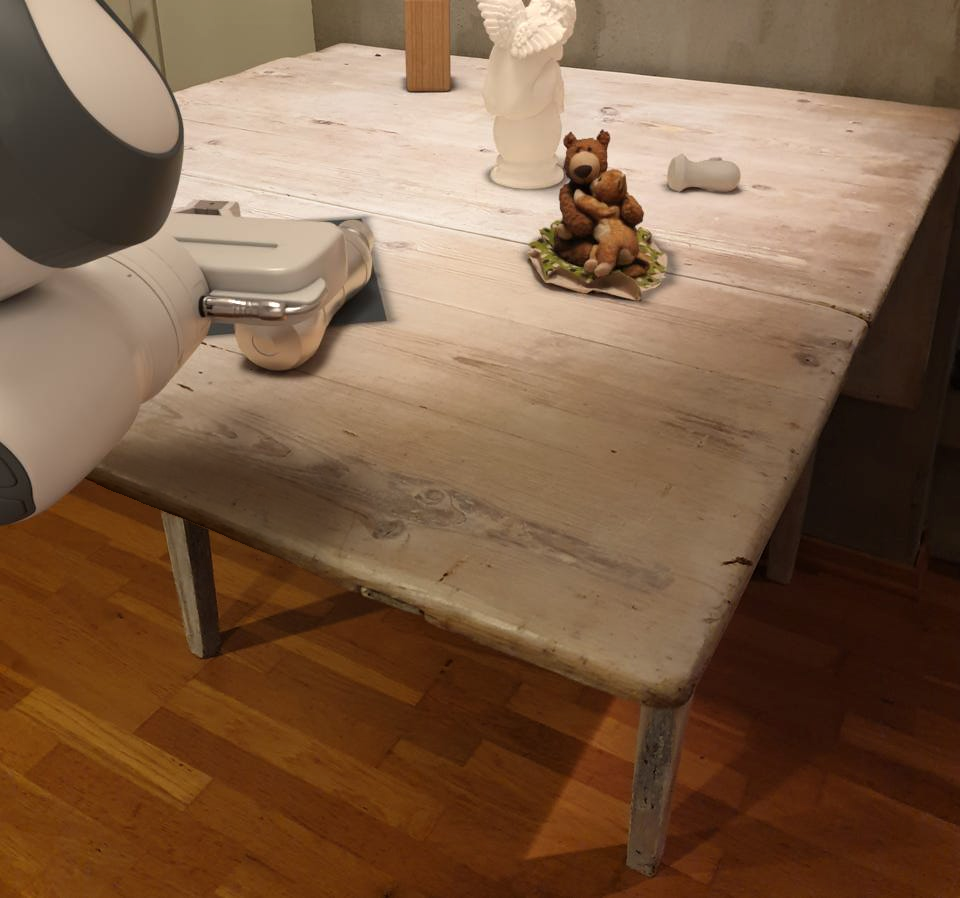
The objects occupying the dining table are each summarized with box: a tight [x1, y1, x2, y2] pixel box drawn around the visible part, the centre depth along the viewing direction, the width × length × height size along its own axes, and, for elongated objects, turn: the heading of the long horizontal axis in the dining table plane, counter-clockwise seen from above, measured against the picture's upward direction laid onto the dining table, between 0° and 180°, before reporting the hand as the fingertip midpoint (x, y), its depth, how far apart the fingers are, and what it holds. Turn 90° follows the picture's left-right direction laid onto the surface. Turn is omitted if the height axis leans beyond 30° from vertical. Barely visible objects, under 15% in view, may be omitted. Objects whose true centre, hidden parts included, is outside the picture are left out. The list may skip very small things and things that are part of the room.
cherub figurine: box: [475, 0, 577, 190], centre depth 105 cm, size 12×12×22 cm
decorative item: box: [402, 0, 452, 93], centre depth 142 cm, size 7×7×20 cm
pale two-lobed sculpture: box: [666, 153, 742, 193], centre depth 109 cm, size 4×8×5 cm
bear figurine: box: [526, 128, 669, 302], centre depth 89 cm, size 14×15×12 cm
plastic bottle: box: [234, 220, 375, 371], centre depth 81 cm, size 6×7×20 cm
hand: (219, 211), depth 63 cm, fingers closed
